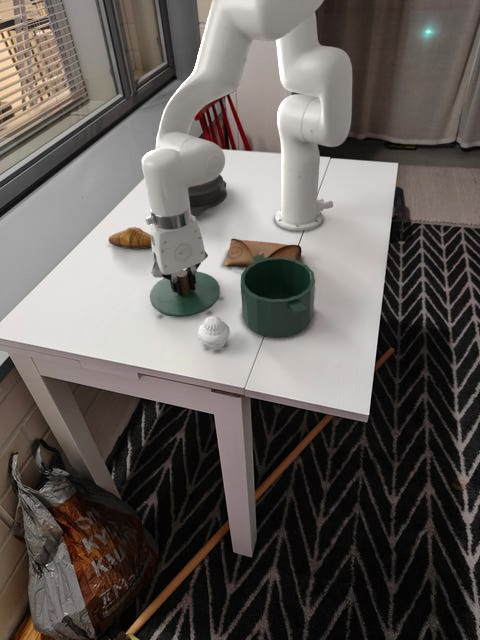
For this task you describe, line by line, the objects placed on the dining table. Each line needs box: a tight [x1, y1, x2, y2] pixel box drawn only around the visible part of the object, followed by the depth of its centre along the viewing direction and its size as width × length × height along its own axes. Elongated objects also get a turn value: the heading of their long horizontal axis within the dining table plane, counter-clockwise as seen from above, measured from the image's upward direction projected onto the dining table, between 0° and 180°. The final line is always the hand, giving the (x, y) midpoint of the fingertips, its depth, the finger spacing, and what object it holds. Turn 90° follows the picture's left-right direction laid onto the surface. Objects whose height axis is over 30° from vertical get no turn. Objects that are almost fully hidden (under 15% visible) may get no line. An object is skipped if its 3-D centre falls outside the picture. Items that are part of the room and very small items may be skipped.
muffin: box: [197, 315, 231, 351], centre depth 89 cm, size 6×6×7 cm
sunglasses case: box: [223, 237, 303, 269], centre depth 111 cm, size 18×7×7 cm
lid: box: [149, 269, 221, 318], centre depth 101 cm, size 16×16×6 cm
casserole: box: [188, 174, 228, 218], centre depth 134 cm, size 25×19×8 cm
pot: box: [240, 254, 316, 339], centre depth 94 cm, size 15×20×10 cm
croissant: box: [108, 226, 152, 250], centre depth 119 cm, size 14×7×5 cm, turn 78°
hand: (184, 289), depth 102 cm, fingers closed on lid, 2 cm apart
